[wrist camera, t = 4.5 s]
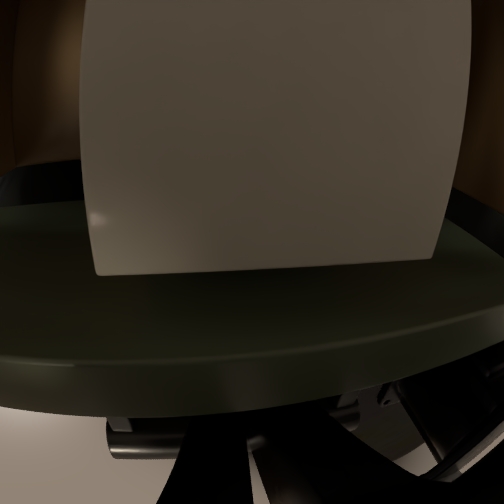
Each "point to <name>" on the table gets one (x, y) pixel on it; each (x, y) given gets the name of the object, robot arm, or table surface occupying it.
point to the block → (269, 131)
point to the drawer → (219, 279)
